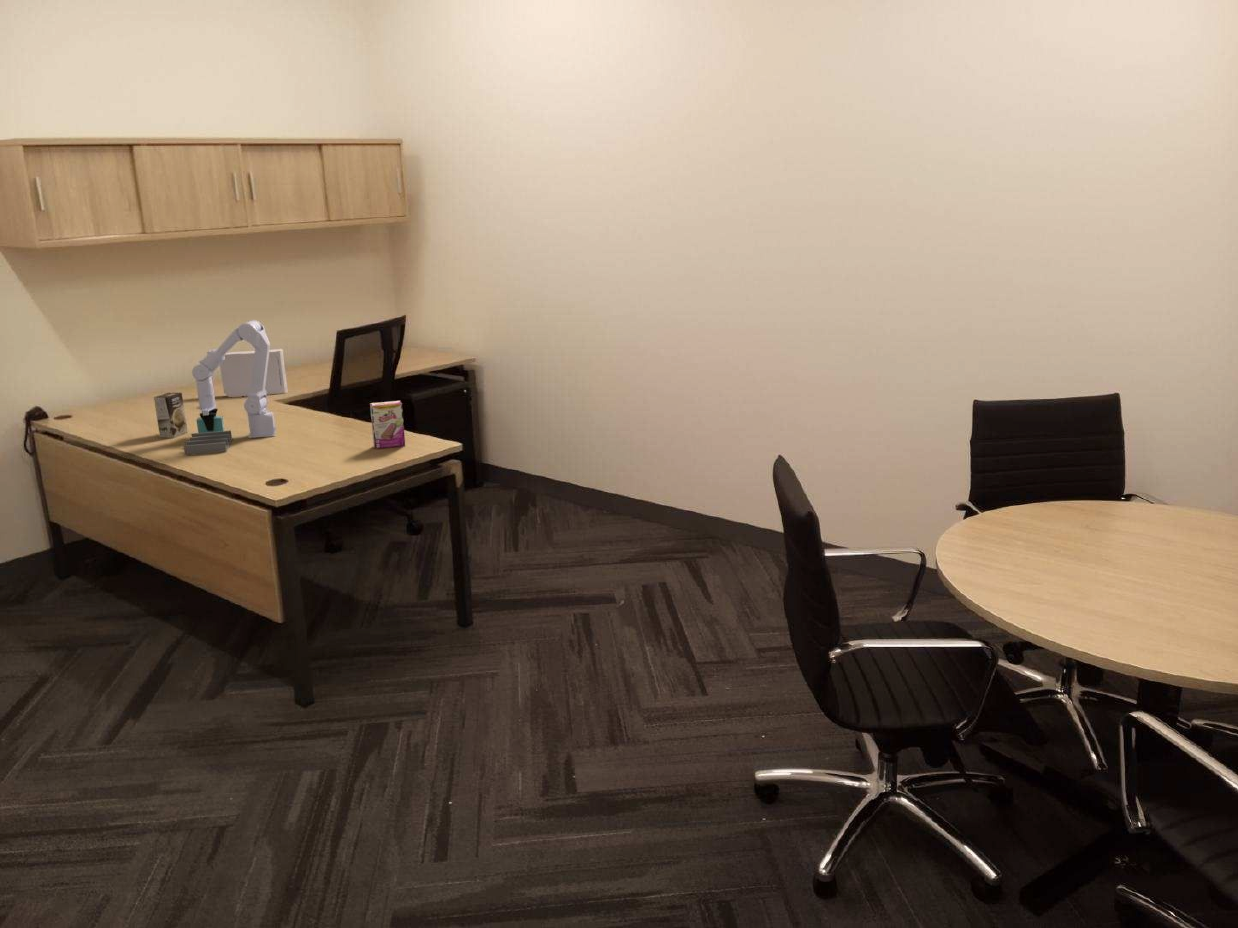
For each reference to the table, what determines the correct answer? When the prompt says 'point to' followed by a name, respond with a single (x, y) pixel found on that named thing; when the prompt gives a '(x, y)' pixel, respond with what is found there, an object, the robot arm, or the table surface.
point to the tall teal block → (217, 425)
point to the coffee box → (170, 415)
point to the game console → (240, 373)
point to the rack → (208, 442)
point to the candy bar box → (387, 424)
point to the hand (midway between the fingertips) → (211, 429)
